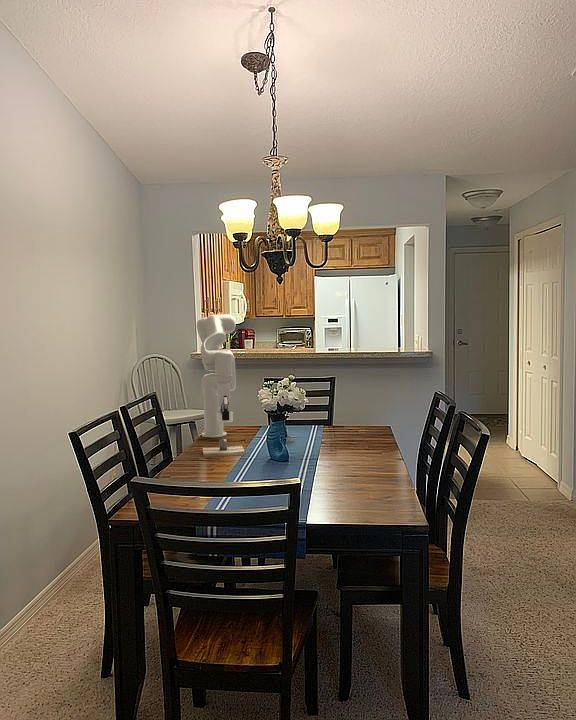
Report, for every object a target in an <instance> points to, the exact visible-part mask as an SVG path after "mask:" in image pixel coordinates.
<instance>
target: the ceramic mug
mask: <svg viewBox="0 0 576 720" xmlns="http://www.w3.org/2000/svg"><path fill="white" fill-rule="evenodd" d="M294 440H295V438H294V437H293V436H291V435H289V433H288V431H287V440H286V441H288V442H291V443H293V442H294Z"/></svg>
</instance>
